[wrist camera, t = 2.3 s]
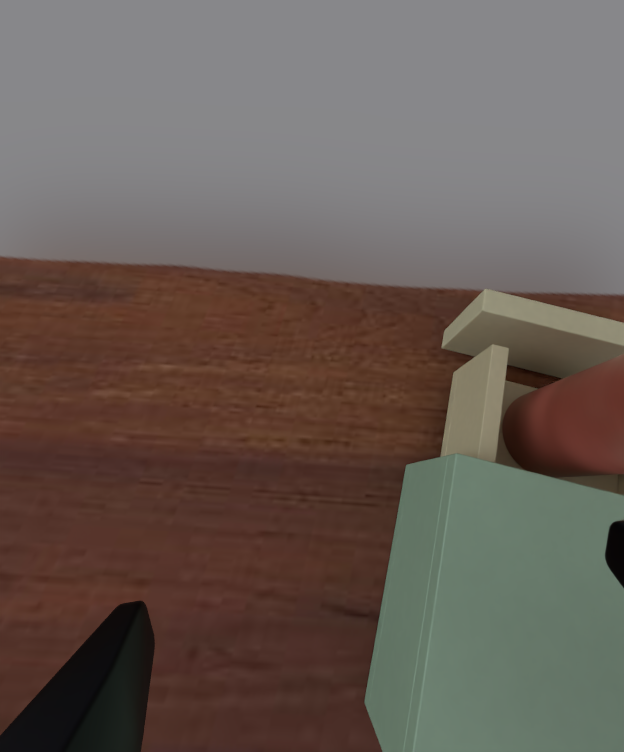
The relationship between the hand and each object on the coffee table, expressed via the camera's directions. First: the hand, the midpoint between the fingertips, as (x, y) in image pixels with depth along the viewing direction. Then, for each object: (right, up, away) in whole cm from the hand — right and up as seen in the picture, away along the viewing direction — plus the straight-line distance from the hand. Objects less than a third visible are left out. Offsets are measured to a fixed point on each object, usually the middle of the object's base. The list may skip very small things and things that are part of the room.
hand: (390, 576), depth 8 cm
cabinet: (+9, -8, +14) cm, 19 cm away
